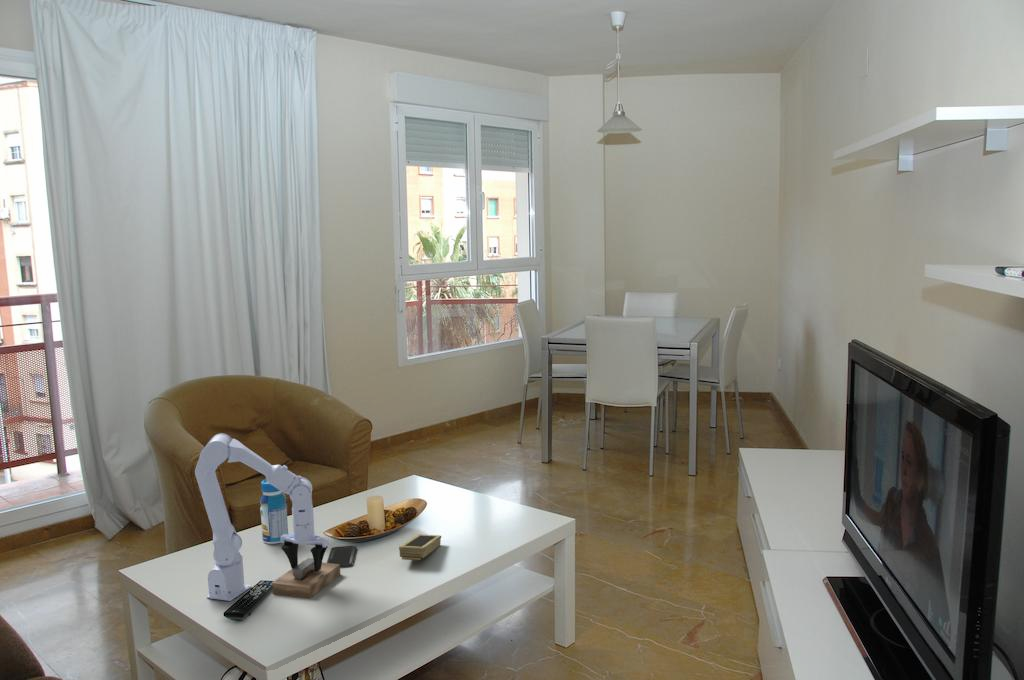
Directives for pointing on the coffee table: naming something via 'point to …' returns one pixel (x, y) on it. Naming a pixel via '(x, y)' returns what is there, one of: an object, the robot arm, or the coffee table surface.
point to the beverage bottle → (273, 513)
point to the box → (419, 546)
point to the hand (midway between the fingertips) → (306, 568)
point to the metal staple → (303, 569)
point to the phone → (342, 556)
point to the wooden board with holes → (306, 581)
